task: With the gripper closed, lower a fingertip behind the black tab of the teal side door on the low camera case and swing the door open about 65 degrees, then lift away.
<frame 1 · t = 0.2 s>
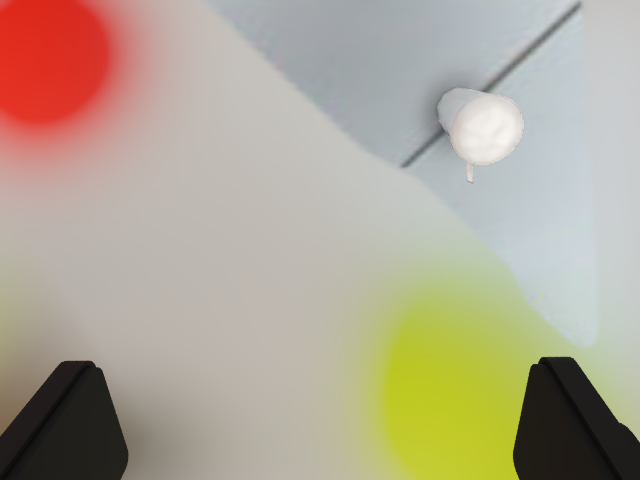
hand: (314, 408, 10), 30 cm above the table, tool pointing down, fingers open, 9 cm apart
milkshake: (453, 112, 37), on the table
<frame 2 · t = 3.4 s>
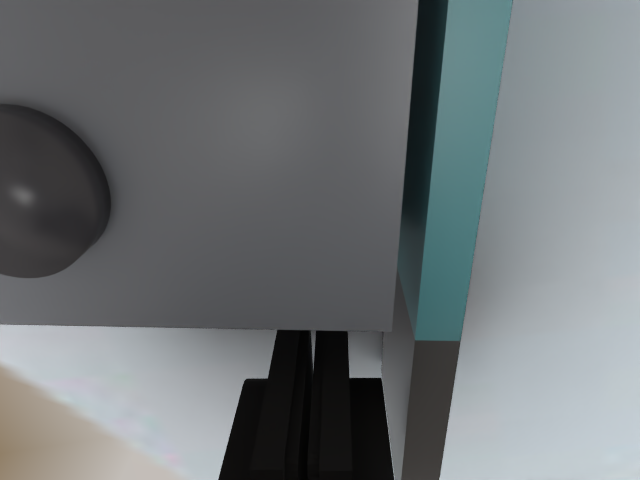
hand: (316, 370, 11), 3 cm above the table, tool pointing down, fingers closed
camera case: (206, 55, 10), on the table
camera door: (426, 184, 9), point 2 cm above the table, hinge at 0.5°, touching gripper
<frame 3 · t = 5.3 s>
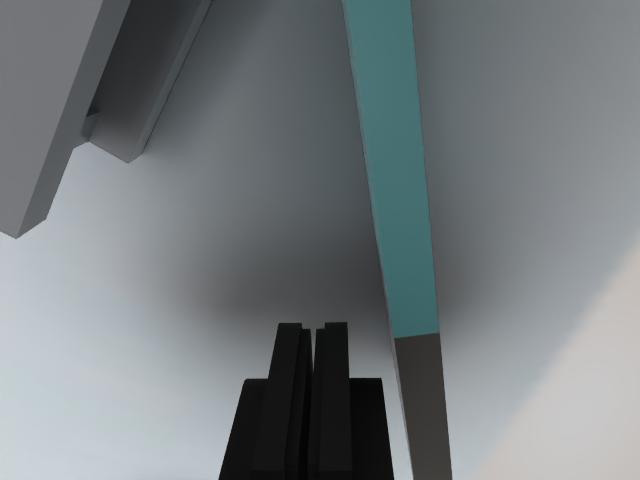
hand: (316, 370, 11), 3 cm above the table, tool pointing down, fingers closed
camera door: (389, 181, 9), point 2 cm above the table, hinge at 42.7°, touching gripper
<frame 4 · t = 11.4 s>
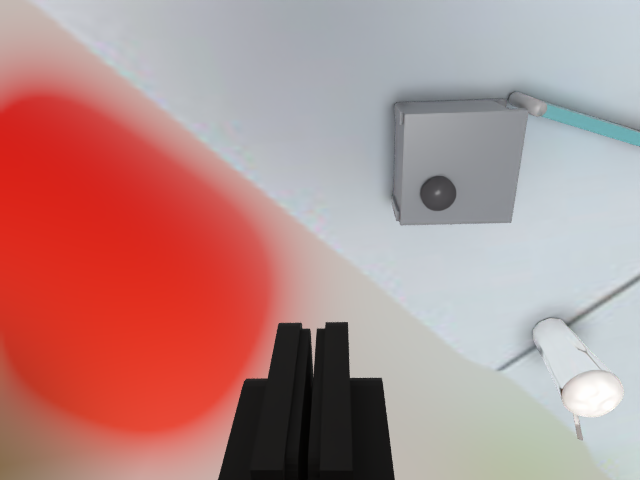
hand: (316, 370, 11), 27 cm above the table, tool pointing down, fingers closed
camera case: (445, 152, 36), on the table
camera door: (607, 128, 32), point 2 cm above the table, hinge at 72.1°
milkshake: (546, 333, 43), on the table
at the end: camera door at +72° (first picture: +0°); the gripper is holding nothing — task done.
